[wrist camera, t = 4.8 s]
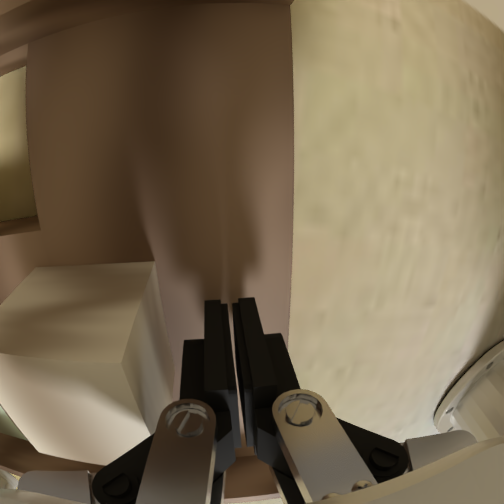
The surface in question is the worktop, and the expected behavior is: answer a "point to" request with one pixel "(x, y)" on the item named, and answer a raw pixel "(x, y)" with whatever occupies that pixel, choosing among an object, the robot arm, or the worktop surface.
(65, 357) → the block
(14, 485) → the white and black mug
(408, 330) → the worktop surface
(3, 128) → the worktop surface
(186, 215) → the box
